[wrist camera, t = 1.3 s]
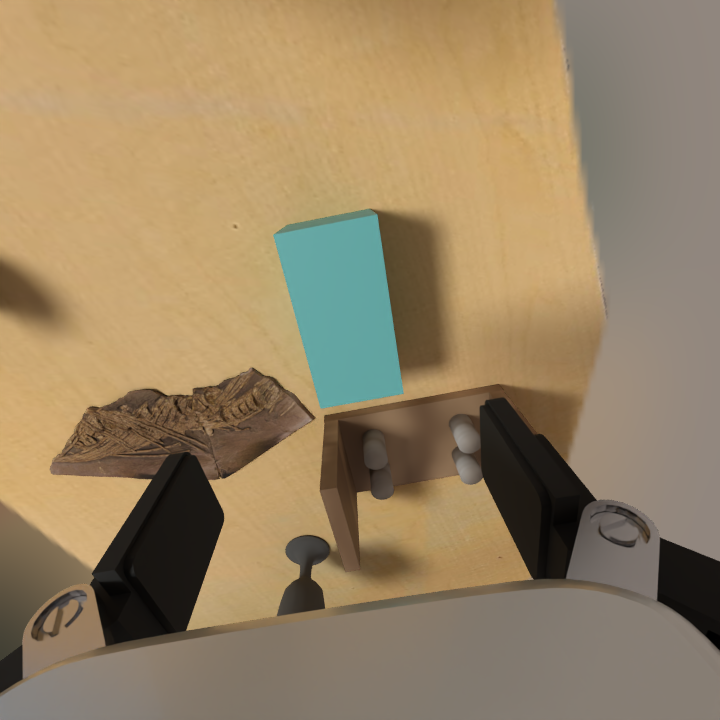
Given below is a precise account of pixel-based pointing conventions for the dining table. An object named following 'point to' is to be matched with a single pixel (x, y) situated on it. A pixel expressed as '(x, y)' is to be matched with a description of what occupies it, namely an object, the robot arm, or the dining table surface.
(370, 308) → the turquoise block
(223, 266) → the dining table surface
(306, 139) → the dining table surface
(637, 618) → the robot arm
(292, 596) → the sundae
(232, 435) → the wooden fragment
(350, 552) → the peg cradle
